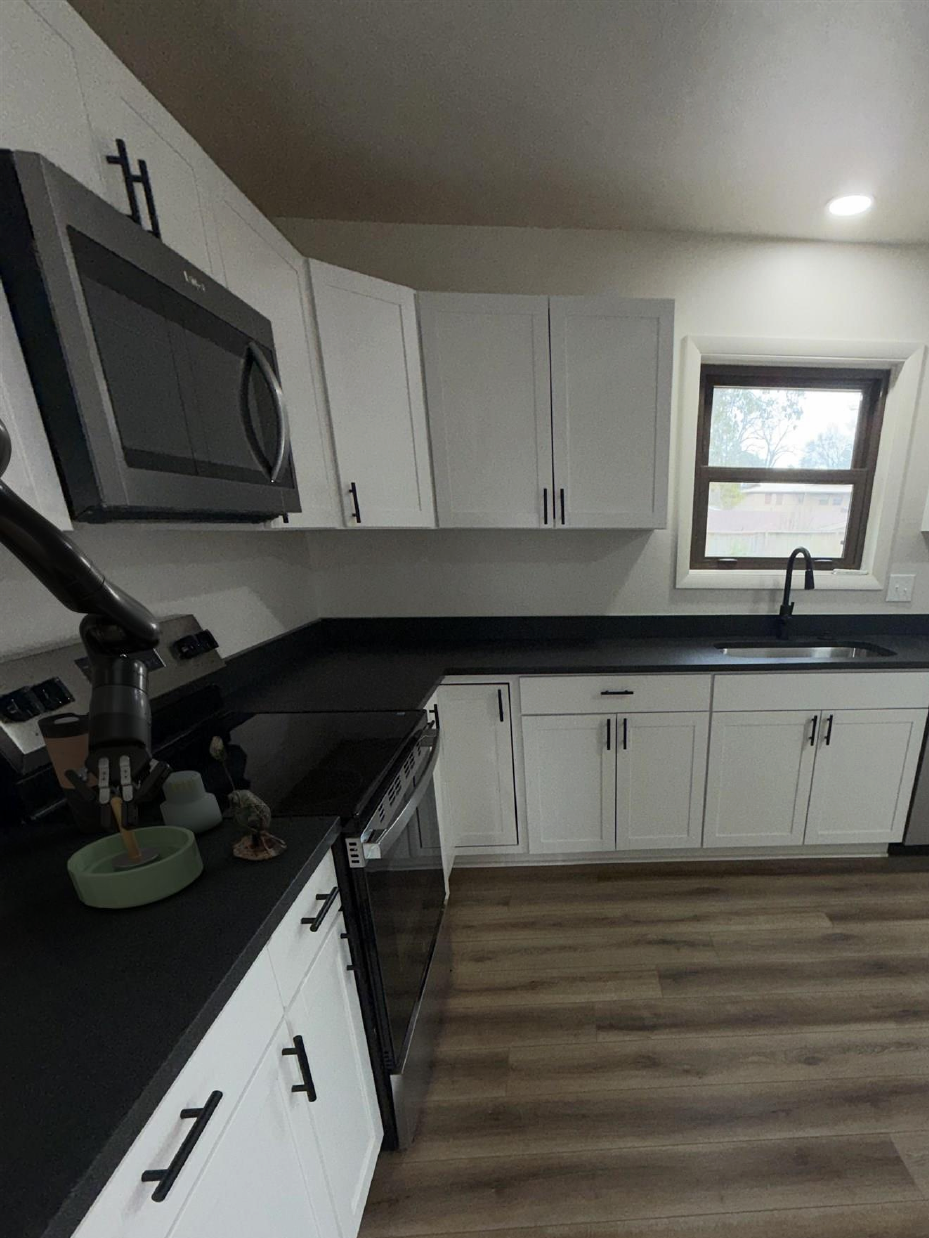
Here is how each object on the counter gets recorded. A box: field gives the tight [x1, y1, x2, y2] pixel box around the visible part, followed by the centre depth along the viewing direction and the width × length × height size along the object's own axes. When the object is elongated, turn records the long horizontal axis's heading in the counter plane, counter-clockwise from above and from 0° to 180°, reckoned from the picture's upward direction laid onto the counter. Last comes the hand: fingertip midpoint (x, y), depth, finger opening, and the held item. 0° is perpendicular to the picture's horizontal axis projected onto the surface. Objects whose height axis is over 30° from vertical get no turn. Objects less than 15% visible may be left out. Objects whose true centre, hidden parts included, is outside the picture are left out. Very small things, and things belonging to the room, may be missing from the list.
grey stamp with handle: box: [110, 797, 162, 872], centre depth 95 cm, size 6×6×12 cm
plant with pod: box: [209, 735, 288, 862], centre depth 103 cm, size 8×11×20 cm
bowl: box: [66, 825, 204, 909], centre depth 97 cm, size 16×16×6 cm
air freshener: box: [159, 770, 223, 835], centre depth 113 cm, size 11×8×10 cm
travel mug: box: [37, 711, 123, 834], centre depth 113 cm, size 8×8×20 cm
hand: (119, 829), depth 92 cm, fingers closed on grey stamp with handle, 1 cm apart
